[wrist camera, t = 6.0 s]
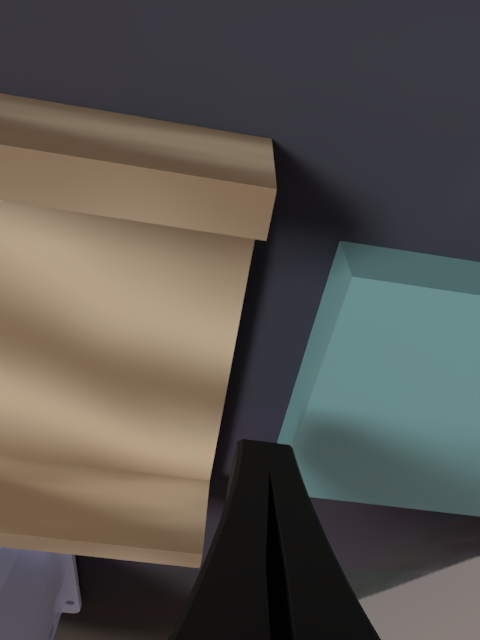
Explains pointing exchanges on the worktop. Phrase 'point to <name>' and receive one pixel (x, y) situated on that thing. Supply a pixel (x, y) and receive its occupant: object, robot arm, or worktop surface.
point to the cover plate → (392, 383)
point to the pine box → (118, 323)
